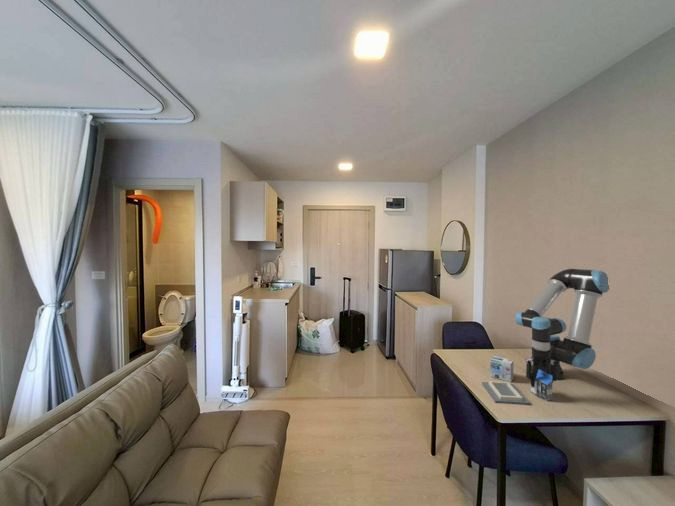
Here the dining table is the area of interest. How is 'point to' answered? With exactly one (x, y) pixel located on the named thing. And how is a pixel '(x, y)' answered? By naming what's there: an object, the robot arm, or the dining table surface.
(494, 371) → the light bulb box
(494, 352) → the dining table surface
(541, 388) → the label tape cartridge
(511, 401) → the grey platform
